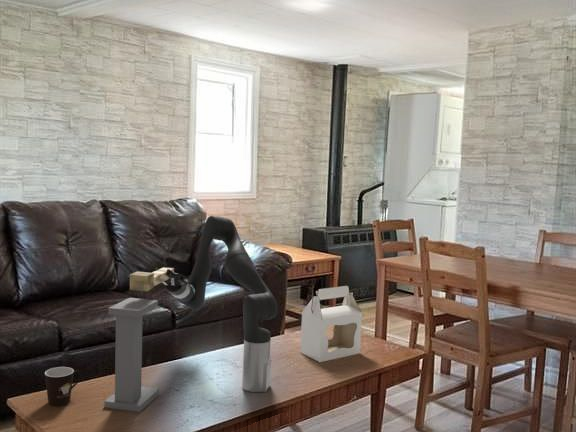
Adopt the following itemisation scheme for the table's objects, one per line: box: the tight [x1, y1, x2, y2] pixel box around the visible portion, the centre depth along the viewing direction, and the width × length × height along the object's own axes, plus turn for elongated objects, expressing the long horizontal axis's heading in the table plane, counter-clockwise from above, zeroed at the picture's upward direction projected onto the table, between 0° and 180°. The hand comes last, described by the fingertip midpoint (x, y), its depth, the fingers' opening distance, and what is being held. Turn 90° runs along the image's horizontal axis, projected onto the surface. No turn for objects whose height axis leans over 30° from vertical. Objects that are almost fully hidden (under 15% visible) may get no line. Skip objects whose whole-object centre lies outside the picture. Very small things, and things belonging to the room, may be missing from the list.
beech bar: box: [129, 267, 175, 292], centre depth 200 cm, size 24×6×5 cm, turn 168°
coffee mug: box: [44, 366, 83, 407], centre depth 186 cm, size 12×9×10 cm
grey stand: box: [103, 297, 160, 413], centre depth 187 cm, size 12×14×32 cm
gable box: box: [299, 285, 363, 363], centre depth 243 cm, size 22×13×28 cm, turn 126°
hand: (161, 271), depth 205 cm, fingers closed on beech bar, 4 cm apart
